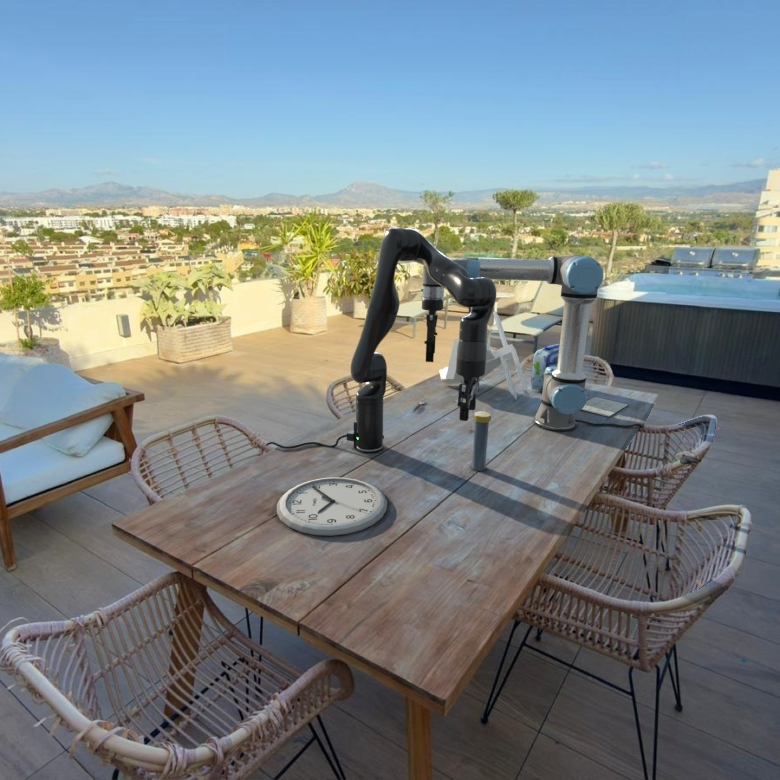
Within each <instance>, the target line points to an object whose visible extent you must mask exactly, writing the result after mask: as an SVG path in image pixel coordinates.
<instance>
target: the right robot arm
mask: <svg viewBox="0 0 780 780" xmlns="http://www.w3.org/2000/svg"><path fill="white" fill-rule="evenodd" d="M441 253H442V254H443V255H445V256H446V253H444V252H441ZM451 260H452V261H454V262H456V263H457V264H459V265H460V266H462V267H463V268H464V269H465V270H466V271H467V273H468V278H482V277H486V278H489V279H491V280H495V281H497V280H499V281H500V280H501V281H526V282H527V281H531V282H546V283H547V284H548V285H557V286H561V289H560V298H561V299H562V300H563V303H564V305H563V313H562V322H561V330H560V339H559V344H560V346H559V355H558V364H557V366H553V367H547V368H546V369H545V373H544V382H543V391H541V392H542V394H541V402H540V405H539V407H538V410H537V411H536V413H535V417H534V424H535V425H536V426H537V427H539V428H542V429H544V430H549V431H556V432H567V431H572V430H574V429H575V428H576V423H580V424H586V425H588V426H589V425H590V426H595V427H596V426H597V427H598V426H599V427H601V426H606V427H607V426H609V427H618V428H633V427H639V428H641V429H644V426H643V424H640V423H633V424H617V423H608V422H604V423H603V422H602V423H600V422H598V423H597V422H589V421H587V420H581V419H576V418H575V417H576V416H575V414H576V413H579V412H580V411H582V410H581V409H582V408H583V407H584V406H585V404H586V401H588V397H587V392H586V389H585V388H586V383H587V382H586V381H587V375H586V374H585V373H584V371H583V369H584V361H585V355H586V347H587V339H588V338H587V337H588V330H589V324H590V318H591V317H590V316H591V308H592V303H593V302H594V301H596V300H597V298H598V294H599V293H598V291H599V288H601V285H602V284H603V281H604V269H603V267H602V265H601V264H600V262H599V261H597V260H596V259H595V258H594V257H592V256H587V255H581V254H574V255H573V254H572V255H565V256H551V257H549V258H548V259H545V258H544V259H543V258H542V259H541V258H540V259H539V258H501V257H500V258H497V257H496V258H495V257H494V258H492V257H466V256H460V257H457V258H455V259H451ZM420 292H421V293H422V294H421V296H422V299H421V309H422V310H423V311H428V313H426V316H425V320H426V340H424V342H423V343H424V344H425V362H426V363H434V359H435V357H434V356H435V353H436V338H437V337H436V336H438V332H437V329H436V328H437V324H438V318H439V315H438V314H437V311H438V312H439V311H442V310H444V299H443V298H444V297H445V288H443V287H442V286H441V285H439V284H438V283H436V282H435V281H434V280H433V279H432V278H431V277H430V276H429V274H428V271H427V268H426V267H425V266H424V265H422V288H420Z"/></svg>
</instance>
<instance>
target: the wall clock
mask: <svg viewBox="0 0 780 780" xmlns="http://www.w3.org/2000/svg"><path fill="white" fill-rule="evenodd" d="M387 509H388V500H387V498H386V496H385V494H384V493H383V492H382V491H381V490H380V489H379V488H377V487H376V486H374V485H372V484H371V483H369V482H365V481H362V480H359V479H355V478H349V477H338V476H337V477H335V476H333V477H332V476H331V477H322V478H317V479H312V480H307V481H305V482H302V483H299V484H297V485H295V486H293V487H292V488H290V489H288V490H287V491H286V492H285V493H284V494H283V495H281V496H280V498H279V499H278V502H277V503H276V515H277V517H278V518H279V520H280V521H281V522H282V523H283V524H285V525H286V526H287V527H288V528H290V529H293V530H295V531H297V532H299V533H303V534H308V535H312V536H327V537H328V536H329V537H331V536H332V537H333V536H342V535H350V534H352V533H356V532H361V531H363V530H366V529H368V528H369V527H372V526H373V525H375V524H376V523H378V522H379V521H380V520H381V519H382V518H383V517H384V516H385V514H386V512H387Z"/></svg>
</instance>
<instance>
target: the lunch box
mask: <svg viewBox="0 0 780 780" xmlns="http://www.w3.org/2000/svg"><path fill="white" fill-rule="evenodd" d="M559 346H560V343H555V344H552V345H547V346H545V347H542V348H539V349H537V350H536V351H535V353H534V355H533V358H532V363H531V364H532V365H531V376H530V377H531V378H530V387H531V389H532V390H536V391H539V392H540V391H541V392H543V382H544V373H545V369H546V368H547V367H553V366H557V364H558V355H559Z"/></svg>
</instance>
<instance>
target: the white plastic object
mask: <svg viewBox="0 0 780 780" xmlns="http://www.w3.org/2000/svg"><path fill="white" fill-rule="evenodd" d="M492 315H493V319H494V321H495V324H496V325H495V326H496V328H497V332H498V335H499V338H500V342H501V345H502V347H500V348H498V349H496V350H495V349H493V348H492V347H491V346H490V344H489V343H488V342H486V345H487V352H486V365H485V374H484V375H483V376H481V377H479V383H480V382H482V381H484V378H485V377H486V376H487V375H489V374H490V373H492V372H494V371H495V370H496V369H497V368H499V367H500V366H502V370H503V373H504V376H505V380H506V383H507V386H508V390H509V393H510V394H511V395H512V397H513V398H514V399H515V400H517V392H516V391H517V390H516V388H515V385H514V381H513V378H512V375H511V371H510V369H509V365H508V361H510V360H513V363H514V366H515V369H516V372H517V376H518V380H519V382H520V385H521V389H522V391H523V393H524V395H525V396H526V397H528V396H531V395H530V390H529V388H528V387H529V386H528V384H527V381H526V378H525V375H524V371H523V369H522V368H523V367H522V366H521V362H520V359H519V355H518V352H517V349H516V347H515V346H514V345H513V343H511V344H508V341H507V337H506V334H505V331H504V328H503V325H502V321H501V318H500V315H499V314H498V312H497V311H496V310H495V311H492ZM458 341H459V338H454V340H453V344H452V349H451V353H450V357H449V362H448V366H446V367H444V368H442V369H440V370H439V371H438V372H439V376H440V381H442V383H443V384H444V385H445V386H449V385H458V384H461V381H463V376H461V375H458V374H457V373H456V362H457V347H458Z"/></svg>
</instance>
